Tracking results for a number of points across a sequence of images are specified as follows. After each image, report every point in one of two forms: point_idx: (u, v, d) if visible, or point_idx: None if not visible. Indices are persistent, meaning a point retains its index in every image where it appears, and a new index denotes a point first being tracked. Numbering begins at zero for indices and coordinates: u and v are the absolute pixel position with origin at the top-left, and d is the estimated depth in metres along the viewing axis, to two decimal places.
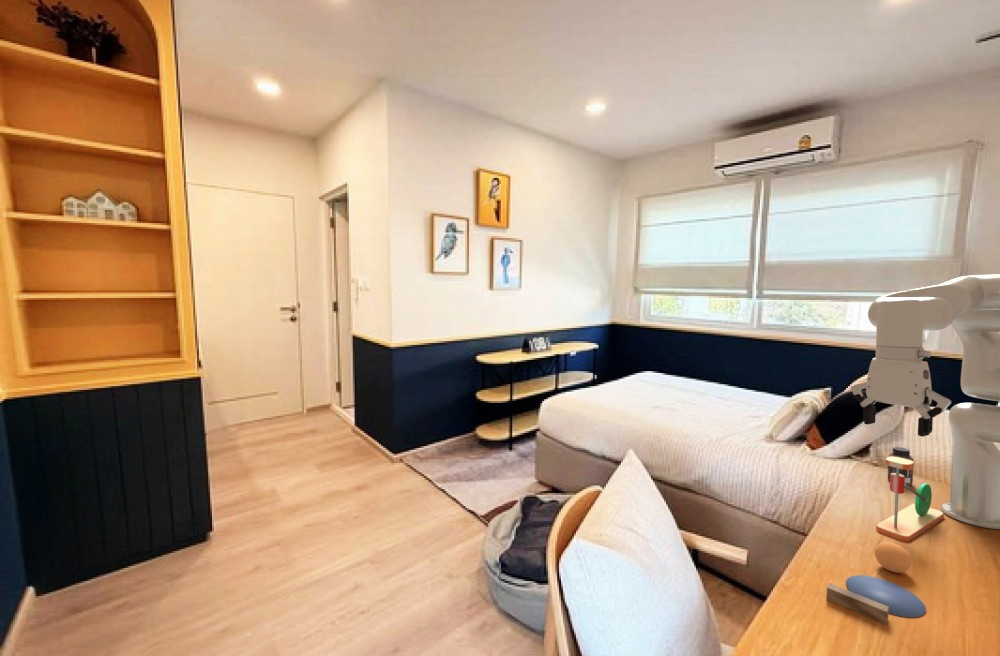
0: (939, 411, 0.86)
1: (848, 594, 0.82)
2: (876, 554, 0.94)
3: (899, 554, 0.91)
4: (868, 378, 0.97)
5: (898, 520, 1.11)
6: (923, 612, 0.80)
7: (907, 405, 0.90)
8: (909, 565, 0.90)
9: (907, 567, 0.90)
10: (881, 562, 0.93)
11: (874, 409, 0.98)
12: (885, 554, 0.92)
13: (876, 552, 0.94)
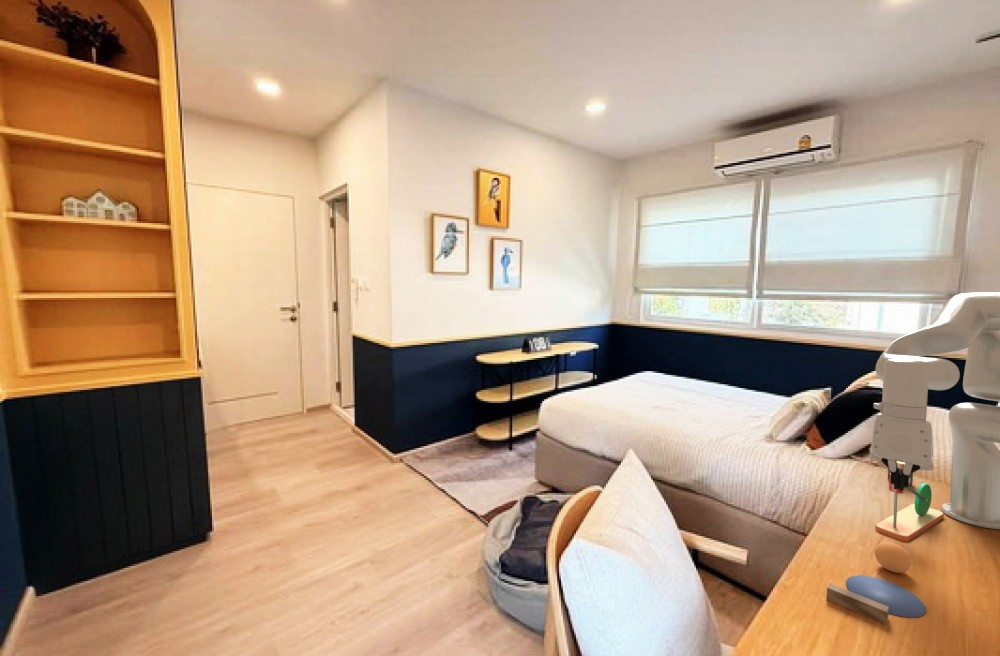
0: None
1: (848, 594, 0.82)
2: (876, 554, 0.94)
3: (899, 554, 0.91)
4: None
5: (897, 520, 1.11)
6: (923, 612, 0.80)
7: None
8: (909, 565, 0.90)
9: (907, 567, 0.90)
10: (881, 562, 0.93)
11: (899, 475, 0.97)
12: (885, 554, 0.92)
13: (876, 552, 0.94)
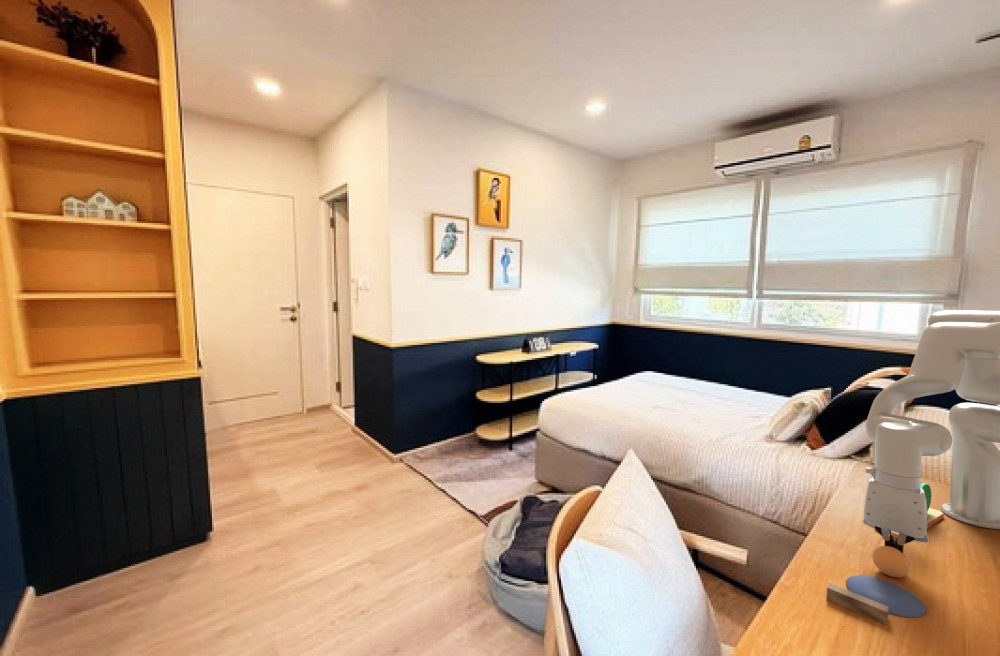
0: None
1: (848, 594, 0.82)
2: (874, 561, 0.92)
3: (896, 563, 0.89)
4: None
5: None
6: (923, 612, 0.80)
7: None
8: (907, 571, 0.89)
9: (905, 573, 0.89)
10: (879, 569, 0.92)
11: (893, 545, 0.94)
12: (882, 564, 0.90)
13: (873, 559, 0.92)
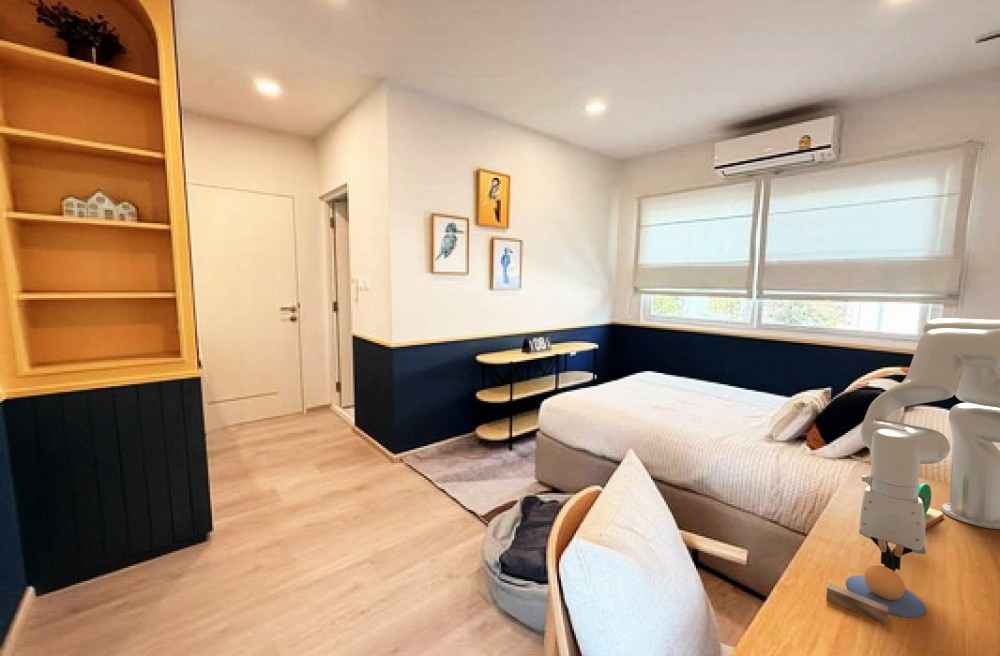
0: None
1: (848, 594, 0.82)
2: None
3: None
4: None
5: None
6: (923, 612, 0.80)
7: None
8: None
9: None
10: None
11: None
12: None
13: None
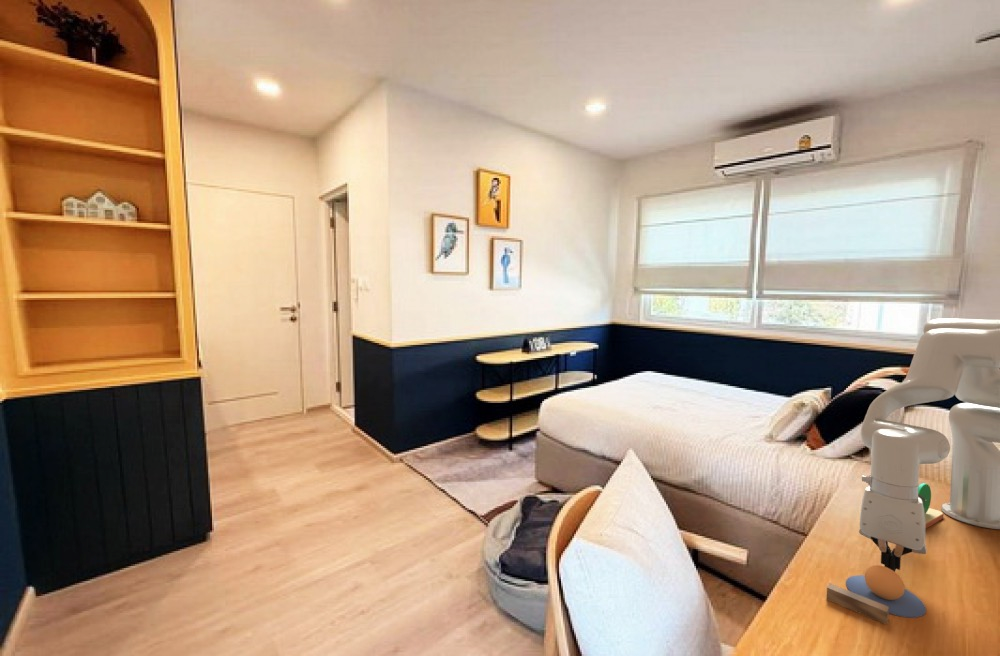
0: None
1: (848, 594, 0.82)
2: None
3: None
4: None
5: None
6: (923, 612, 0.80)
7: None
8: None
9: None
10: None
11: None
12: None
13: None
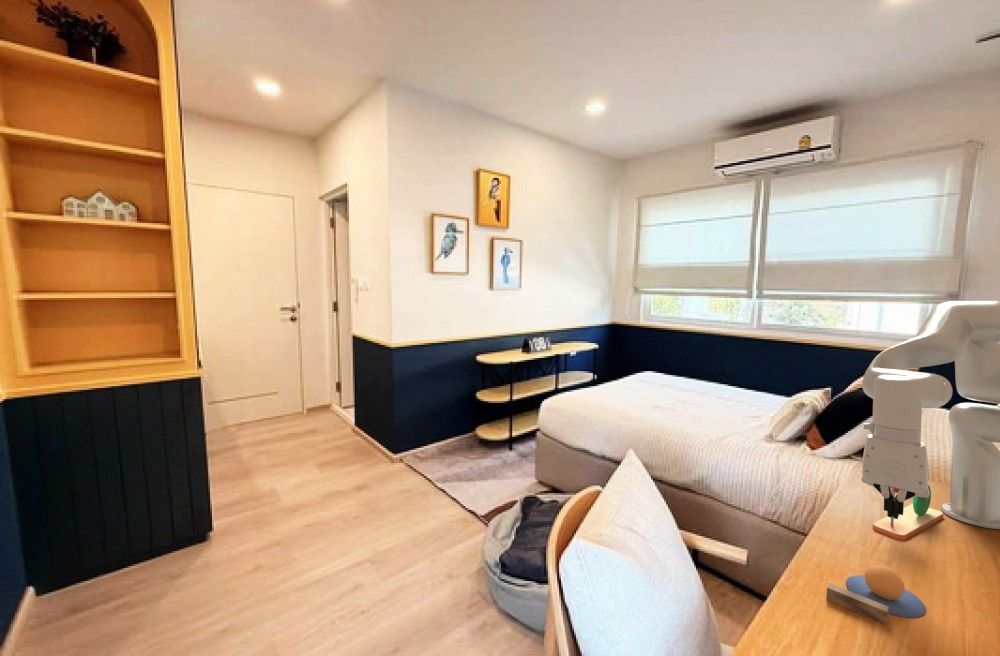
0: None
1: (848, 594, 0.82)
2: None
3: None
4: None
5: (895, 519, 1.12)
6: (923, 612, 0.80)
7: None
8: None
9: None
10: None
11: None
12: None
13: None
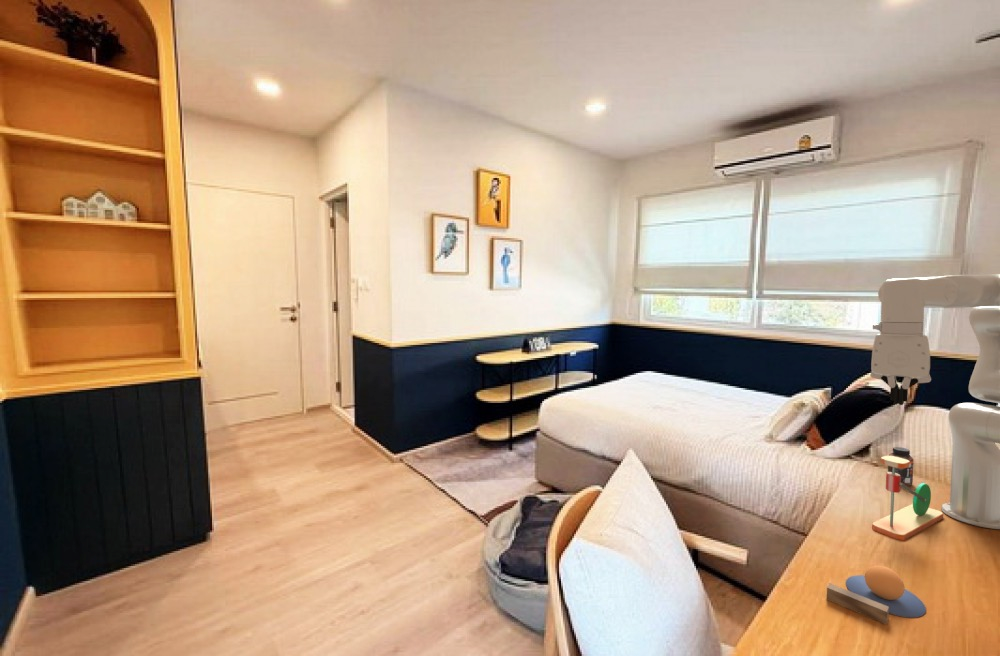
0: None
1: (848, 594, 0.82)
2: None
3: None
4: None
5: (895, 519, 1.12)
6: (923, 612, 0.80)
7: None
8: None
9: None
10: None
11: (899, 390, 1.01)
12: None
13: None
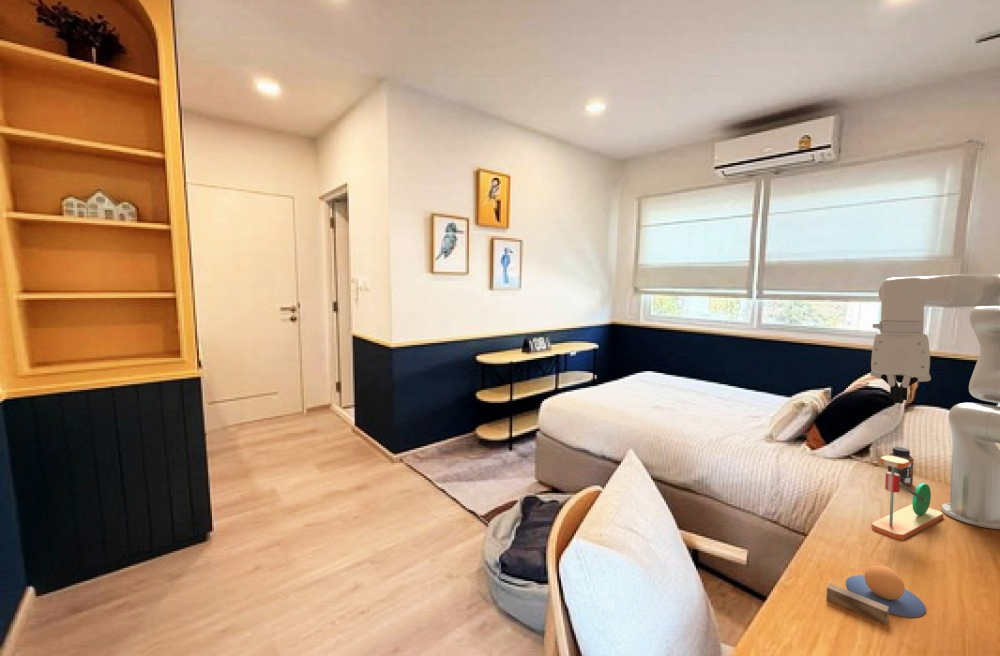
0: None
1: (848, 594, 0.82)
2: None
3: None
4: None
5: (895, 519, 1.12)
6: (923, 612, 0.80)
7: None
8: None
9: None
10: None
11: (898, 389, 1.01)
12: None
13: None
